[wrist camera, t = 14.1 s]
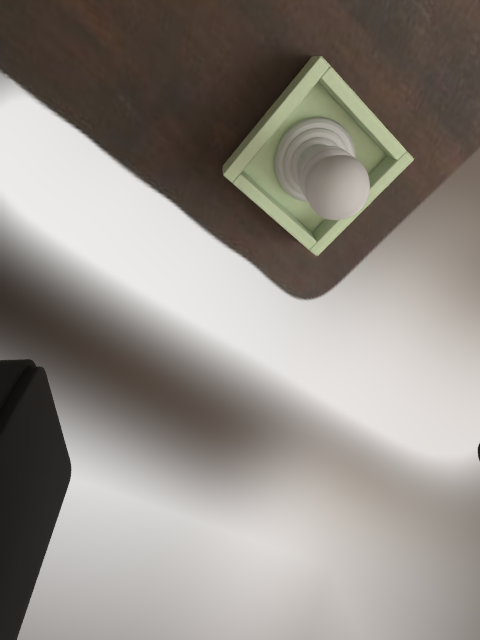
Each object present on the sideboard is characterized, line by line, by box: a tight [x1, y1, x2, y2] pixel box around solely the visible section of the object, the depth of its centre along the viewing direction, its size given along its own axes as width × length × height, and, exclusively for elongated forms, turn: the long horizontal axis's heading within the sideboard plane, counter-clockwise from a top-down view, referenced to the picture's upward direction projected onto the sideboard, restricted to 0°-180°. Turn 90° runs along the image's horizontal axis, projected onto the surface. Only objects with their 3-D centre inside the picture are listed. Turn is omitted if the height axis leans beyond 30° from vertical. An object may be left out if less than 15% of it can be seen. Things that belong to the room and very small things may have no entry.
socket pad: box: [222, 56, 414, 256], centre depth 29 cm, size 9×9×3 cm
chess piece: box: [274, 117, 370, 220], centre depth 26 cm, size 5×5×9 cm
